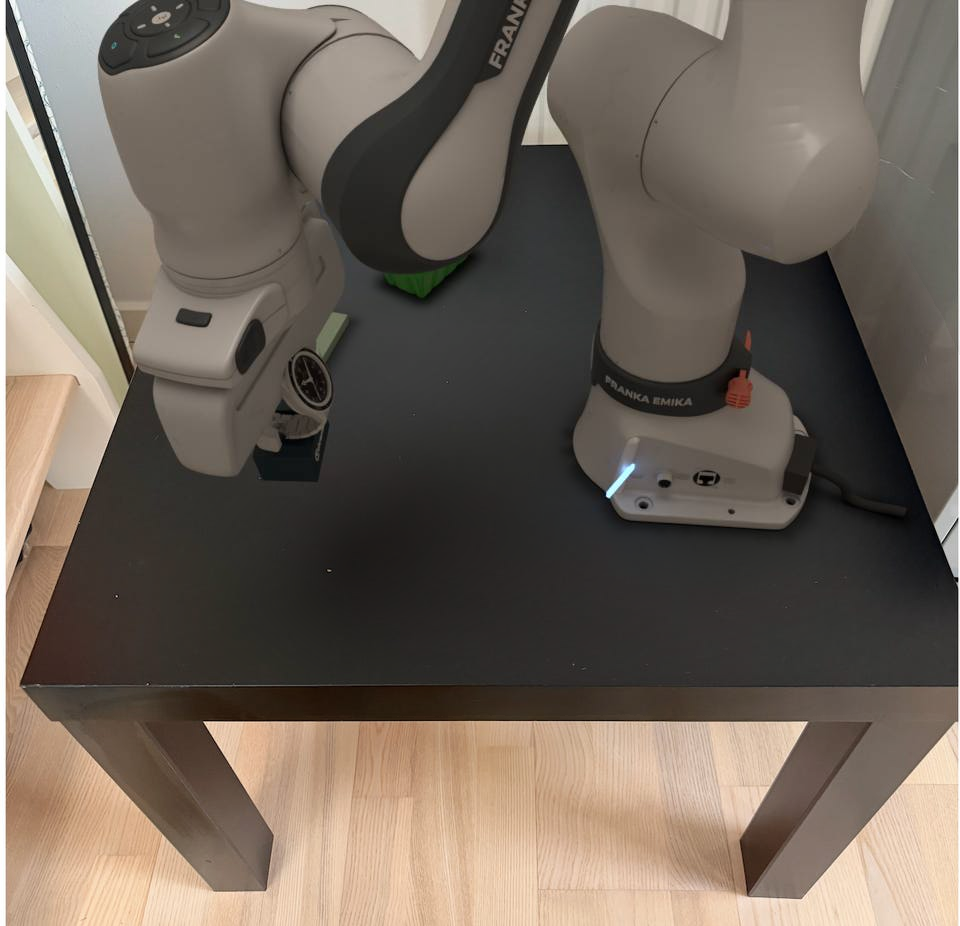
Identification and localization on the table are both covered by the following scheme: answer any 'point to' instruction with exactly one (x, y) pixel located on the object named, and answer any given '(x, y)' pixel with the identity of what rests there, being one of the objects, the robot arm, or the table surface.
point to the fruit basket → (420, 280)
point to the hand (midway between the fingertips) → (288, 416)
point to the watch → (300, 421)
